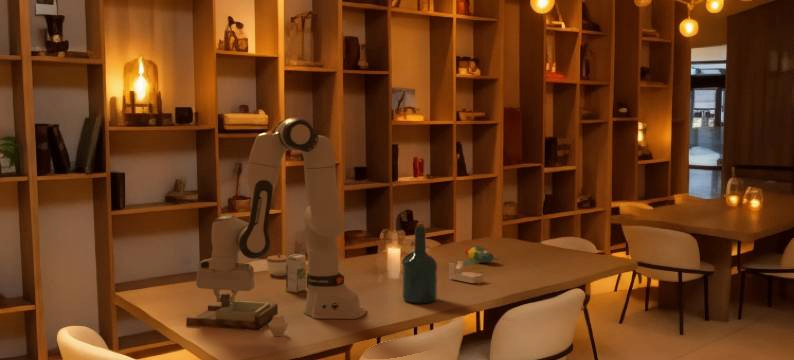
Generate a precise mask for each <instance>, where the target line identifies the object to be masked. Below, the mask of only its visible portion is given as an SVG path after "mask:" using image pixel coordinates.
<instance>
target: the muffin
mask: <svg viewBox="0 0 794 360" xmlns="http://www.w3.org/2000/svg"><path fill="white" fill-rule="evenodd" d="M267 325H268V328H269V330H270V332H271V334H272V336H273V337H275V336H280V337H283V336H284V335H285V332H286V331H287V327H288V322H287V321H286V320H285V318H284V316H283V315H282V314H278V315H274V316H273V318H272V320H271V322H269V323H268V324H267ZM282 335H283V336H282Z"/></svg>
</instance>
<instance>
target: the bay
mask: <svg viewBox="0 0 794 360" xmlns="http://www.w3.org/2000/svg"><path fill="white" fill-rule="evenodd" d="M278 306H279V305H278V303H273V304H272V305H270V307H269V308H267V309H266V310H265V311H263V312H262V313H260V314H259V315H257V316H256V317H255V322H252V321H238V320H224V319H216V315H215V311H216V310H218V309H220V308H221V307H222V306H221V305H219V304H217V305H215V304H208V305H207V310H205V311H204V312H202V313H200V314H198V315H197V316H194V317H192V316H187V317H186V319H185V322H186V326H192V327H193V326H194V327H207V328H222V329H233V330H234V329H235V330H246V329H248V330H249V331H260V330H261V328H262V329H263V328H264V327H266V326H267V325H269V323H270V322H271V320H272V318H273V316H274V315H279V314H278V312H279V311H278Z"/></svg>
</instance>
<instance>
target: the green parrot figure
mask: <svg viewBox="0 0 794 360" xmlns="http://www.w3.org/2000/svg"><path fill="white" fill-rule="evenodd" d="M469 248H470V249H469V250H468V249H467V247H466V248H465V249H463V251H464V252H465V254H466V257H469V259H468V260H465V261H463V262H464V266H470V265H471V266H472V265H480V264H485V263H492V262H493V261H495V260H497V261H500V260H501V259H500V258H498V257H495V256H494V255H495V254H492V253H491V252H490V251H489V250H487V249H485V248H484V247H482V246H479V245H475V246H473V247H469ZM457 263H458V262H456V263H454V264H455V266H457Z"/></svg>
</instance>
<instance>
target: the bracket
mask: <svg viewBox="0 0 794 360" xmlns="http://www.w3.org/2000/svg"><path fill="white" fill-rule="evenodd" d="M464 262H465V261H460V260H458V261H457V262H456V263H457V265H455V264H456V263H452V262H449V263H448V279H450V280H453V281H454V280H455V281H460V282H465V283H468V284H469V283H470V284H481V283H483V281H484V279H483V278H484V274H482V273H478V272H477V273H476V272H471V271H466V270H465V267H464V266H465V265H464Z"/></svg>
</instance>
